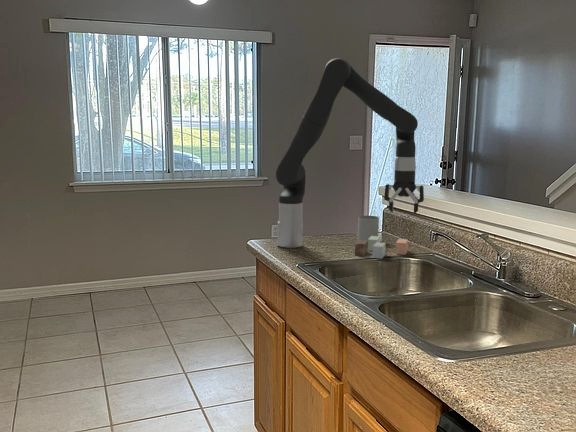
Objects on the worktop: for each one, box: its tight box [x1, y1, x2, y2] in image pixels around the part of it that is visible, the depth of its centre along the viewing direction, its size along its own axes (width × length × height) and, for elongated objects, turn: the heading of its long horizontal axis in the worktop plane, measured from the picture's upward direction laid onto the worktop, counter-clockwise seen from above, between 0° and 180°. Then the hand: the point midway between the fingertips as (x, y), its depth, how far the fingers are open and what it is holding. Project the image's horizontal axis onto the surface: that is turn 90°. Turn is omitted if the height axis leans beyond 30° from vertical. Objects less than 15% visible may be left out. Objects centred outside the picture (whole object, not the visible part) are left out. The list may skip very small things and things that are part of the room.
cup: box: [357, 215, 380, 241], centre depth 230 cm, size 8×8×10 cm
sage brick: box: [368, 235, 381, 252], centre depth 215 cm, size 4×7×4 cm, turn 161°
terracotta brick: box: [395, 238, 409, 256], centre depth 210 cm, size 4×7×4 cm, turn 161°
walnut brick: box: [354, 239, 369, 257], centre depth 208 cm, size 4×7×4 cm, turn 161°
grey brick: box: [371, 241, 387, 260], centre depth 204 cm, size 4×7×4 cm, turn 161°
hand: (403, 212), depth 208 cm, fingers open, 8 cm apart
